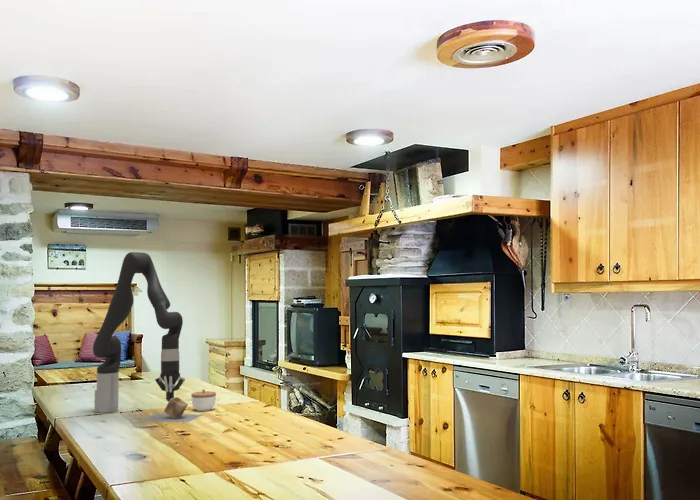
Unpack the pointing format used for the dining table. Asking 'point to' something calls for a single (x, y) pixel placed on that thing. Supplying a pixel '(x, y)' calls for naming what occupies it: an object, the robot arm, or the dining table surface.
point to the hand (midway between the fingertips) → (170, 400)
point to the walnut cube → (175, 407)
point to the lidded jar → (203, 400)
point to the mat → (170, 418)
